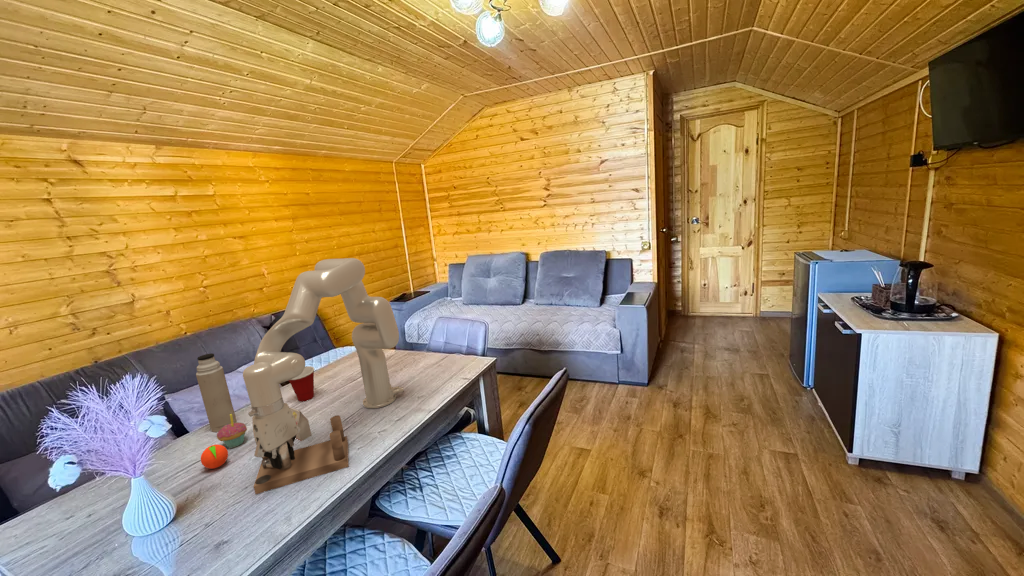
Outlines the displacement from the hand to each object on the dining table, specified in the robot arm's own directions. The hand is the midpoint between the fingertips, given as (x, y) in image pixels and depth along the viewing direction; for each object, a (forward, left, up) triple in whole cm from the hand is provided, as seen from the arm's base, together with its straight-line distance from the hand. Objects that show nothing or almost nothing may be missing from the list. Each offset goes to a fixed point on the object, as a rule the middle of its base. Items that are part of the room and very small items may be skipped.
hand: (284, 462), depth 120 cm
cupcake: (+19, -29, -4) cm, 35 cm away
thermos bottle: (+26, -46, -4) cm, 53 cm away
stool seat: (-5, -2, -4) cm, 7 cm away
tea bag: (-2, -22, -4) cm, 23 cm away
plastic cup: (-1, -54, -4) cm, 55 cm away
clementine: (+21, -16, -4) cm, 27 cm away
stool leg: (+2, -1, -1) cm, 3 cm away
